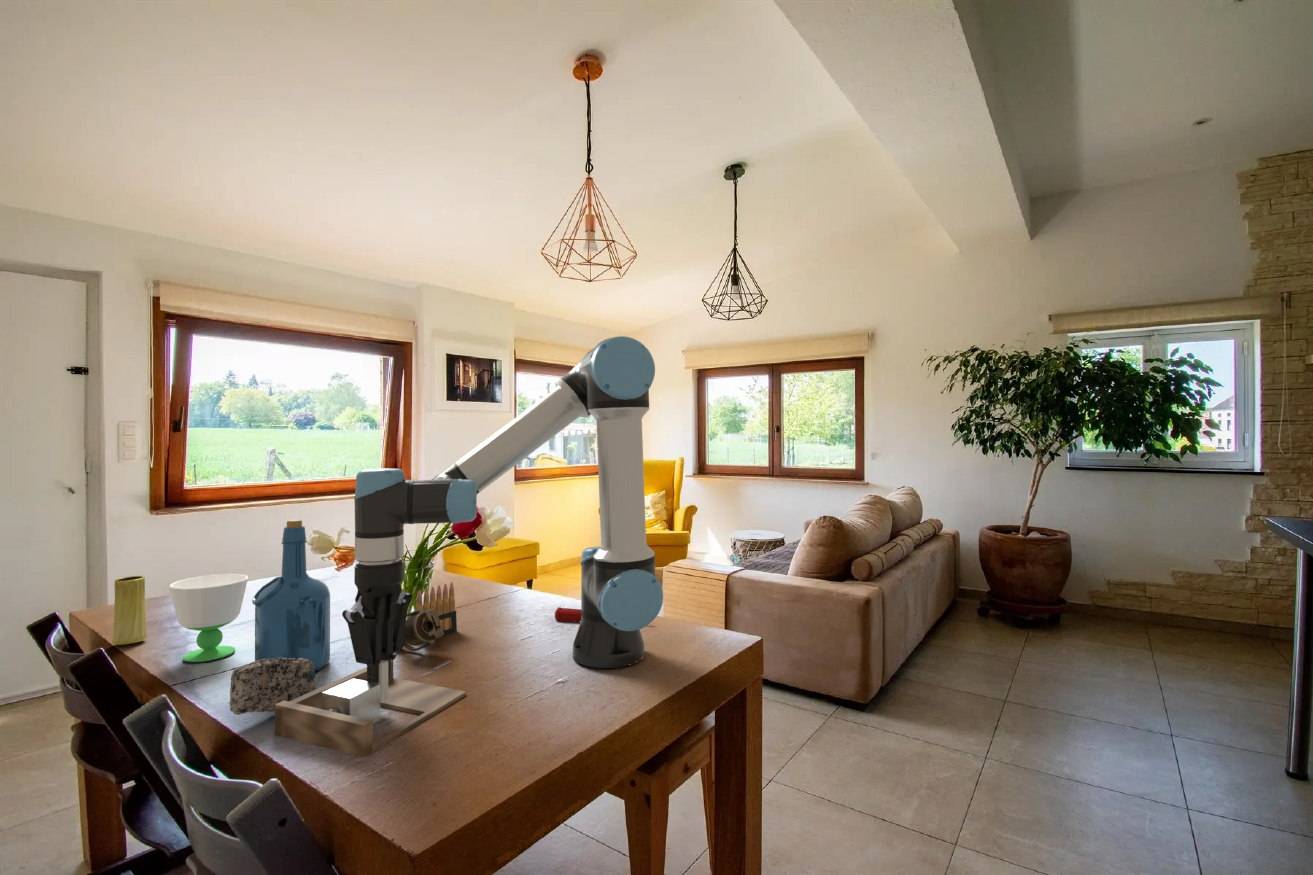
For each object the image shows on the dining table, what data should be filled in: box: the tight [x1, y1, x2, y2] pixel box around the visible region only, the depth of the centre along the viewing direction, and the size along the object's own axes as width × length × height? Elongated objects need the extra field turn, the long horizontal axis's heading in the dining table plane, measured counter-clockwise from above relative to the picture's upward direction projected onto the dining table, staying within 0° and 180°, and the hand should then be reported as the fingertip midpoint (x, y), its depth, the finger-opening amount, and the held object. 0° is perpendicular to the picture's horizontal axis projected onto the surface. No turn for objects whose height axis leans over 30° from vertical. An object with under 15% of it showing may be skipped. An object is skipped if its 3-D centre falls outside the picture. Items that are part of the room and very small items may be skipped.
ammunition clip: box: [415, 581, 458, 638], centre depth 140 cm, size 11×2×12 cm, turn 147°
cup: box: [168, 573, 249, 663], centre depth 128 cm, size 14×14×16 cm
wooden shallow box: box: [274, 660, 467, 758], centre depth 100 cm, size 18×22×5 cm
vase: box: [111, 575, 148, 646], centre depth 136 cm, size 6×6×14 cm
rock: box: [229, 657, 316, 716], centre depth 99 cm, size 13×9×4 cm
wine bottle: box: [251, 519, 331, 672], centre depth 120 cm, size 14×13×30 cm
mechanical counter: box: [393, 608, 444, 652], centre depth 128 cm, size 7×13×10 cm, turn 78°
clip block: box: [322, 678, 381, 724], centre depth 96 cm, size 6×6×8 cm
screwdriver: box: [554, 607, 581, 623], centre depth 150 cm, size 4×25×4 cm, turn 77°
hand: (378, 699), depth 100 cm, fingers closed
